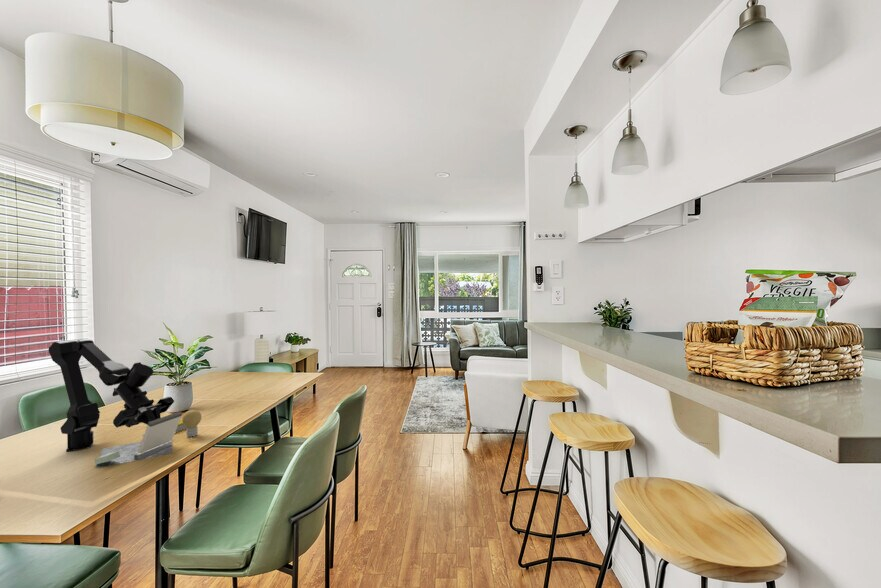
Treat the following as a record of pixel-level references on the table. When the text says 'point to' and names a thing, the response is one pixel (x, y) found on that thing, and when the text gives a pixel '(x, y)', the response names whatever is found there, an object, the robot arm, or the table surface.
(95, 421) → the robot arm
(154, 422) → the beige square plate
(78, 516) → the table surface
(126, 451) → the panel
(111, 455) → the rocker
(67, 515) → the table surface
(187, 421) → the light bulb
